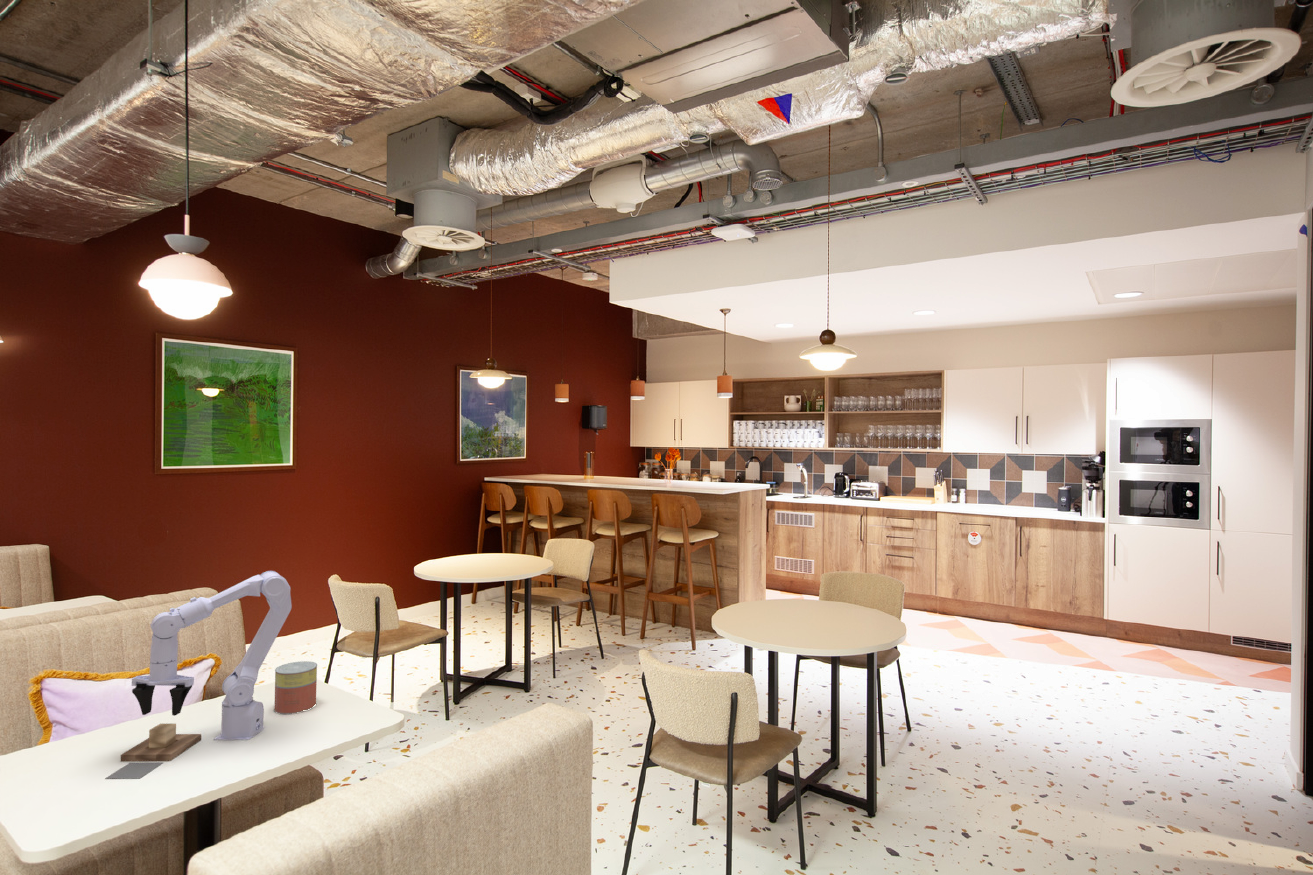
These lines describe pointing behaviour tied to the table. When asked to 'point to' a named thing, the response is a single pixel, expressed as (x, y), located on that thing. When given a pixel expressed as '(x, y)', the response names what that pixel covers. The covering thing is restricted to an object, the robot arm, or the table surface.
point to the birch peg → (162, 736)
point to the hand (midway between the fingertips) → (161, 713)
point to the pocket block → (161, 749)
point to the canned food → (295, 687)
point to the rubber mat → (134, 770)
